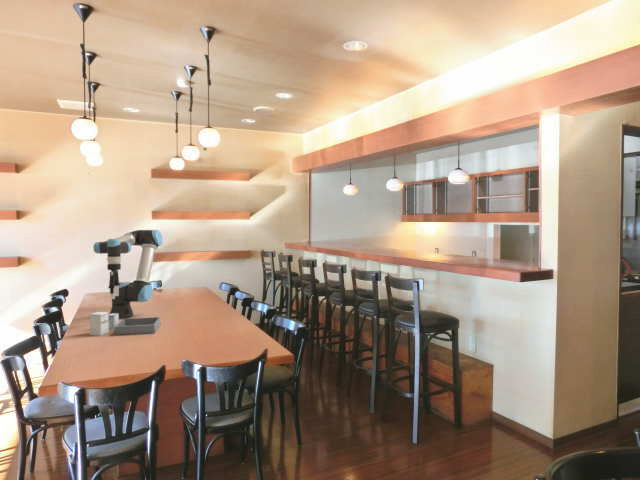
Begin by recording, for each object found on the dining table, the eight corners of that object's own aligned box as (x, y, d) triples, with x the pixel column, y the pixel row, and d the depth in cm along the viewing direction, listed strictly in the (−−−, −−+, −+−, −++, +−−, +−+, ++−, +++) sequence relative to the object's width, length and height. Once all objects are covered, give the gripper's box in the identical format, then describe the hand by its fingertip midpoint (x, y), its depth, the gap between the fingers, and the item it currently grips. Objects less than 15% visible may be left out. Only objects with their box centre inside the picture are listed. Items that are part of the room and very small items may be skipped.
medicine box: (111, 326, 281) (111, 313, 280) (119, 326, 281) (118, 312, 281) (106, 329, 273) (106, 315, 272) (114, 329, 273) (114, 315, 273)
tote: (124, 326, 280) (123, 318, 280) (160, 324, 284) (160, 317, 284) (115, 335, 259) (114, 327, 258) (154, 333, 263) (154, 325, 263)
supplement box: (100, 336, 258) (100, 314, 258) (89, 335, 260) (89, 314, 259) (109, 332, 265) (108, 311, 265) (98, 332, 267) (97, 311, 266)
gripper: (111, 262, 288) (111, 295, 288) (103, 264, 264) (103, 300, 264) (123, 262, 290) (124, 294, 290) (117, 264, 266) (117, 299, 266)
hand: (114, 297), depth 277 cm, fingers open, 13 cm apart
